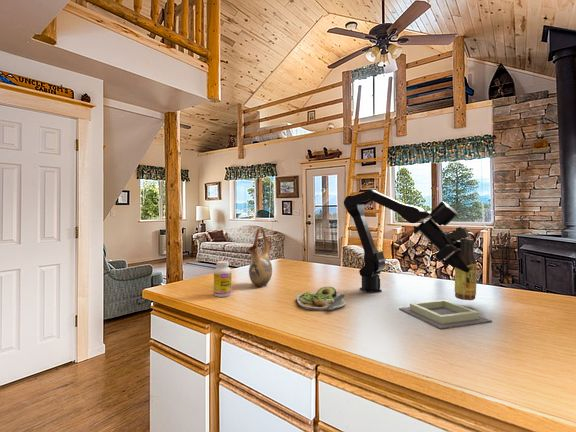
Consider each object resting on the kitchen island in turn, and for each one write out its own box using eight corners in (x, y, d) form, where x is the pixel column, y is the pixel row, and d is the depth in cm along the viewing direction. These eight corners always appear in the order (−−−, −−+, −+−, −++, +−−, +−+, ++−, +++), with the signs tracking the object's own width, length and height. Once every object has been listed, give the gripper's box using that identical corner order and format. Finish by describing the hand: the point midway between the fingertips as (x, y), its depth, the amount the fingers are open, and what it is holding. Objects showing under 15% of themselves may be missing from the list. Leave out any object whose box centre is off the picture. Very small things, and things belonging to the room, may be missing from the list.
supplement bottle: (219, 298, 118) (218, 263, 118) (210, 295, 123) (210, 261, 123) (235, 295, 123) (234, 261, 122) (226, 291, 128) (225, 259, 127)
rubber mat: (440, 329, 86) (440, 327, 86) (399, 309, 104) (399, 308, 104) (492, 321, 92) (492, 320, 92) (444, 304, 109) (444, 302, 109)
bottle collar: (441, 324, 89) (441, 316, 89) (409, 309, 102) (409, 303, 102) (478, 318, 93) (478, 312, 93) (444, 305, 106) (444, 299, 106)
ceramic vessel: (261, 280, 147) (261, 226, 146) (279, 282, 143) (278, 226, 142) (241, 288, 132) (240, 228, 131) (259, 291, 128) (259, 229, 127)
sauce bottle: (468, 302, 102) (469, 240, 102) (450, 297, 108) (451, 238, 107) (480, 299, 105) (481, 239, 105) (462, 294, 111) (463, 237, 110)
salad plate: (355, 314, 101) (355, 299, 101) (298, 315, 100) (298, 300, 100) (342, 297, 120) (342, 284, 120) (295, 297, 119) (295, 285, 119)
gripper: (446, 220, 101) (486, 258, 94) (459, 218, 115) (495, 251, 109) (420, 243, 106) (456, 280, 100) (435, 238, 121) (468, 271, 114)
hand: (470, 270), depth 105 cm, fingers closed on sauce bottle, 6 cm apart
